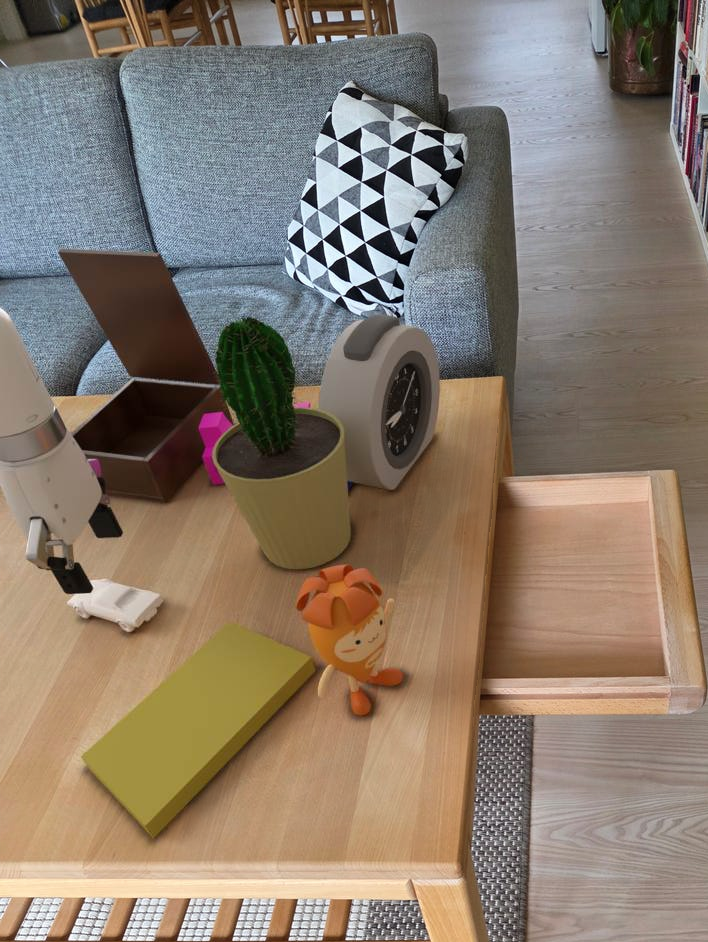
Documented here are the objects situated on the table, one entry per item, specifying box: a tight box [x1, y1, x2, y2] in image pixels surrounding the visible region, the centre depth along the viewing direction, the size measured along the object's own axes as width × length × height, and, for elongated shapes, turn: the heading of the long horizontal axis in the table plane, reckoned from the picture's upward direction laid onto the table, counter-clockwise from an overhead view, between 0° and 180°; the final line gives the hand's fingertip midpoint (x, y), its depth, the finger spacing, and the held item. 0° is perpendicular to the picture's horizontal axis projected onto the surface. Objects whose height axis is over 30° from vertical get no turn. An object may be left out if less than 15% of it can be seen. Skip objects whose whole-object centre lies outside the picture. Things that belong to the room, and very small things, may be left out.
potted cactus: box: [207, 310, 352, 570], centre depth 100 cm, size 15×15×30 cm
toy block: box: [198, 401, 312, 485], centre depth 121 cm, size 15×6×8 cm, turn 91°
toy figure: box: [295, 564, 404, 717], centre depth 87 cm, size 12×8×15 cm, turn 141°
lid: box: [57, 248, 220, 386], centre depth 121 cm, size 20×16×1 cm
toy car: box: [66, 578, 165, 633], centre depth 104 cm, size 6×12×3 cm, turn 65°
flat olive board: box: [80, 620, 317, 839], centre depth 90 cm, size 12×2×24 cm
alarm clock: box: [317, 313, 441, 491], centre depth 115 cm, size 21×8×20 cm, turn 158°
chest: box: [70, 377, 235, 503], centre depth 126 cm, size 20×16×7 cm
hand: (95, 563), depth 99 cm, fingers open, 9 cm apart
